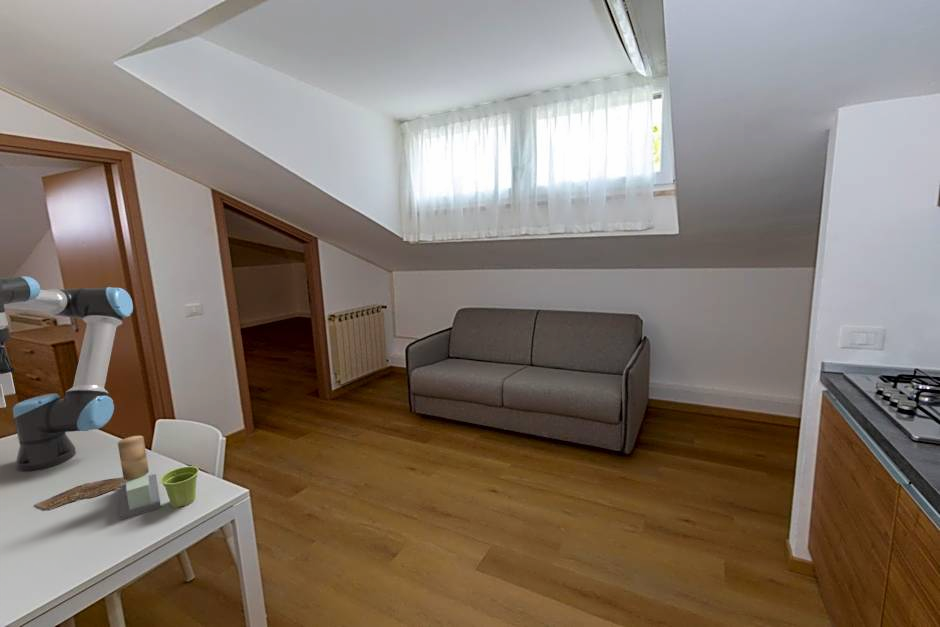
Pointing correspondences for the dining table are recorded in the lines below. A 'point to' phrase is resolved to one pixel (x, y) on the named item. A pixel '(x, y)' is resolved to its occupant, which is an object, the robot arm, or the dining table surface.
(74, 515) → the dining table surface
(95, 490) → the wooden fragment
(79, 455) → the dining table surface
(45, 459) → the robot arm
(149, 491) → the block
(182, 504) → the plant pot
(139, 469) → the tan wooden cylinder
